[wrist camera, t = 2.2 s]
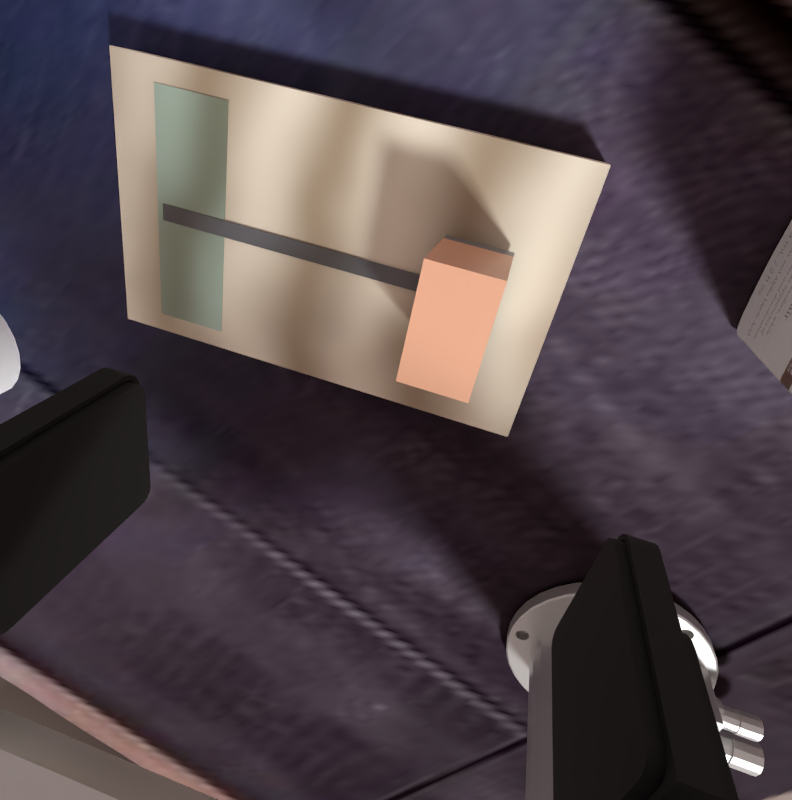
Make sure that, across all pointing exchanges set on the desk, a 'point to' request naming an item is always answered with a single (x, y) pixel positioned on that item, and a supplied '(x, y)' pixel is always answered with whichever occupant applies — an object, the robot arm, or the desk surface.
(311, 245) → the fader board
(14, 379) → the cylinder with rectangular tab
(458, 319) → the fader tab
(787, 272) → the skincare box
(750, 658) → the desk surface
